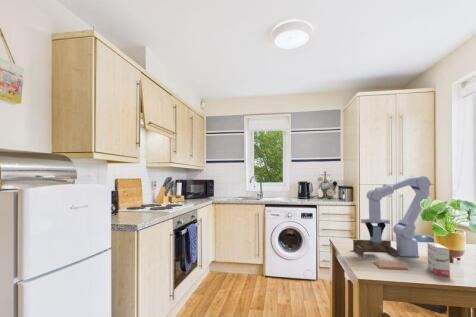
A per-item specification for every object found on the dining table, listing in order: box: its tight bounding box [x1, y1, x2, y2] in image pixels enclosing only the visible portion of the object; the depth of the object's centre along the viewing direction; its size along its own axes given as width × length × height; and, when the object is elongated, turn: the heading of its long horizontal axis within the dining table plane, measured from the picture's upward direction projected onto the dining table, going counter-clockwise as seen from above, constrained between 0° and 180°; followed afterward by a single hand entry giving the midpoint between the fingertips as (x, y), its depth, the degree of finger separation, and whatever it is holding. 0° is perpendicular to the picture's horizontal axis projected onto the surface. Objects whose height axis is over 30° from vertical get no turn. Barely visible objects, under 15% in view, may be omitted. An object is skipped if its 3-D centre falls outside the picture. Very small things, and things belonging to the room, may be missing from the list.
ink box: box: [426, 242, 451, 277], centre depth 115 cm, size 9×5×12 cm, turn 168°
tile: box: [372, 260, 409, 271], centre depth 122 cm, size 12×8×1 cm, turn 83°
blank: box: [369, 225, 383, 243], centre depth 141 cm, size 4×5×8 cm
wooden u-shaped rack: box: [352, 239, 398, 258], centre depth 141 cm, size 20×10×6 cm, turn 83°
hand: (375, 236), depth 141 cm, fingers closed on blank, 4 cm apart
